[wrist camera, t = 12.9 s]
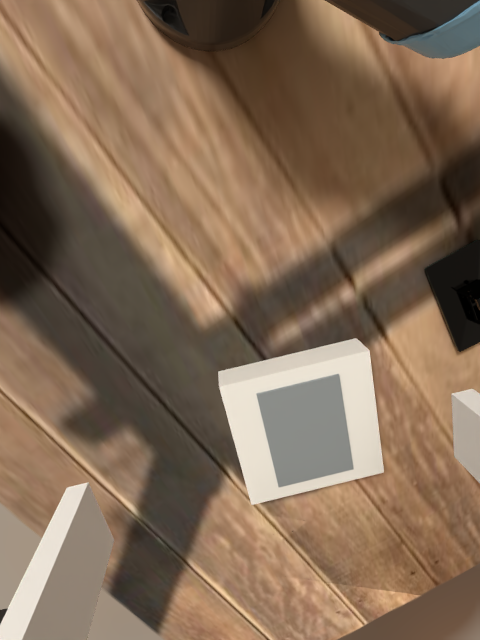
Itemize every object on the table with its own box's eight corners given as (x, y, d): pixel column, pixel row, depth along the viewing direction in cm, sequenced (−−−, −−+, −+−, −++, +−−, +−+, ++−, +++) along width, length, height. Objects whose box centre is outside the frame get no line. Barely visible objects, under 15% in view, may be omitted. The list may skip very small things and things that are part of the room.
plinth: (218, 371, 47) (219, 388, 43) (356, 338, 47) (370, 351, 43) (248, 482, 52) (251, 506, 48) (371, 452, 53) (385, 474, 49)
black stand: (423, 268, 44) (446, 274, 40) (479, 237, 44) (508, 240, 39) (457, 351, 48) (482, 365, 43) (510, 324, 47) (540, 335, 43)
